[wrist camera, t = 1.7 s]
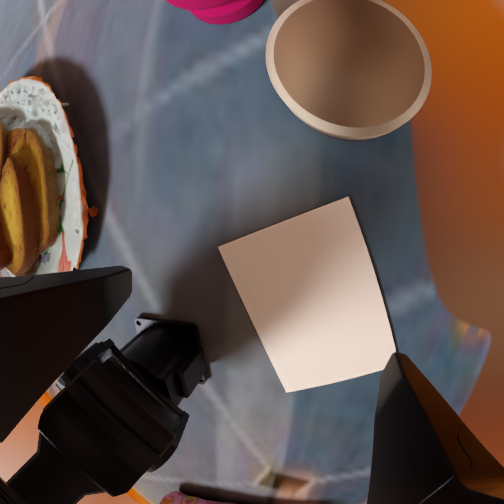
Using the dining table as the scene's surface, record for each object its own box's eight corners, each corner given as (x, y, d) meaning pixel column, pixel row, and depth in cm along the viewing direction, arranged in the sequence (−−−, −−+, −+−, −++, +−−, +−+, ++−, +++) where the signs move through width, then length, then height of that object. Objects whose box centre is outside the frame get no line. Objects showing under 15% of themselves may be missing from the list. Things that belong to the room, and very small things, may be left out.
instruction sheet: (286, 391, 25) (286, 392, 25) (218, 246, 23) (217, 247, 23) (398, 363, 22) (399, 364, 21) (348, 196, 19) (348, 196, 19)
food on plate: (147, 174, 23) (90, 182, 17) (56, 329, 33) (21, 353, 27) (32, 47, 23) (-9, 41, 16) (-23, 198, 32) (-55, 207, 26)
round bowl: (281, 143, 20) (272, 139, 17) (269, 16, 17) (258, -4, 14) (426, 143, 17) (441, 139, 14) (405, 13, 14) (414, -6, 11)
